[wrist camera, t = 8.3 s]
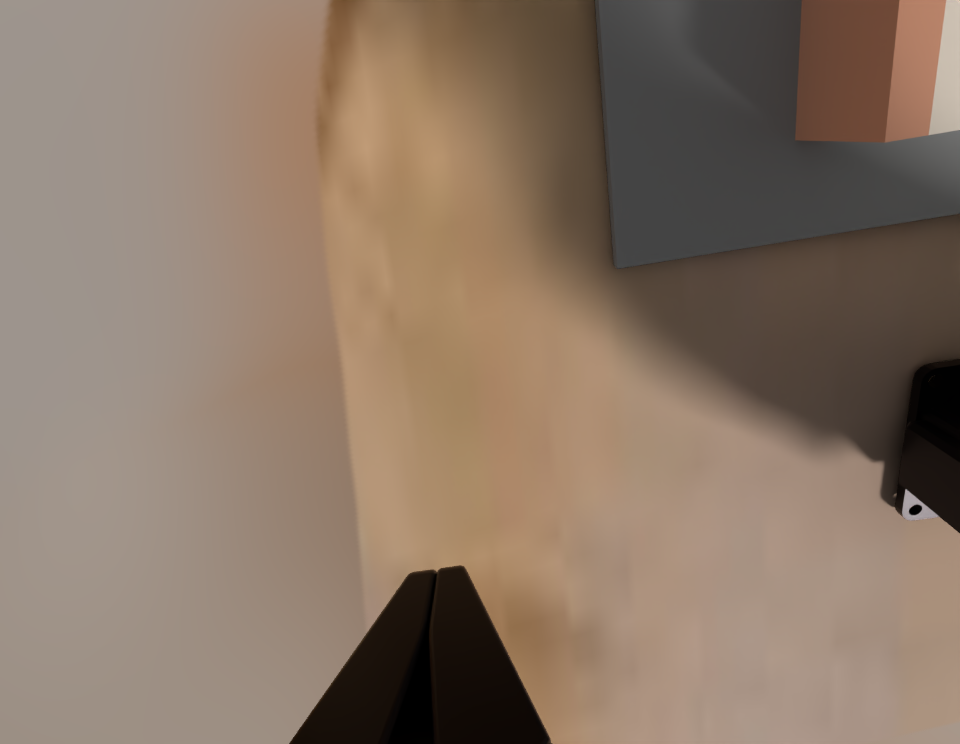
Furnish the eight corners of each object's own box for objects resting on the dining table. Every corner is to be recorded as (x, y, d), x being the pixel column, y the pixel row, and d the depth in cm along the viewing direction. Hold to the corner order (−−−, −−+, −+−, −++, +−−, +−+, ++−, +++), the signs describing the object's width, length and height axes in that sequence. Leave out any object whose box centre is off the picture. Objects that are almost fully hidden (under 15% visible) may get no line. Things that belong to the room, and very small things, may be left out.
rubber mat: (1108, -258, 14) (1129, -271, 14) (1019, 200, 18) (1033, 201, 18) (583, -155, 15) (587, -165, 14) (613, 265, 19) (617, 269, 19)
